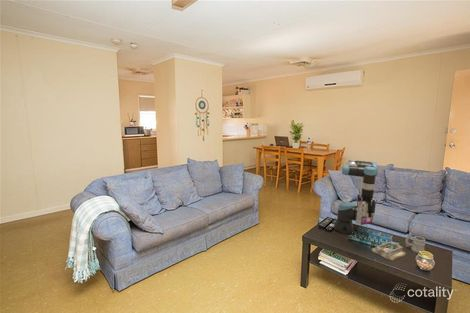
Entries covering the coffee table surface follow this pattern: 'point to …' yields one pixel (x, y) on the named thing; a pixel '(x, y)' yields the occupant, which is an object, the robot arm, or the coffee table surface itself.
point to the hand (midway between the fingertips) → (364, 219)
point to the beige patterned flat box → (389, 251)
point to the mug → (416, 243)
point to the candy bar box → (363, 213)
